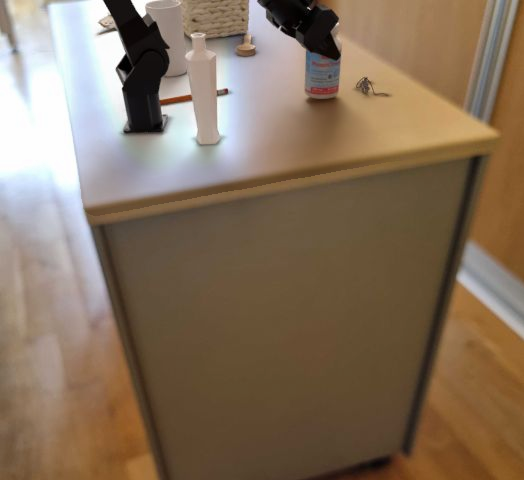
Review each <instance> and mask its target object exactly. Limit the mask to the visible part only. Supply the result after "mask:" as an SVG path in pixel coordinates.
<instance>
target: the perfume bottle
mask: <svg viewBox="0 0 524 480" xmlns="http://www.w3.org/2000/svg"><path fill="white" fill-rule="evenodd" d="M205 35H206V34H203V33H195V34H191V35H190V36H191V37H192V39H191V45H192V49H191V50H190V51H189V52H186V55H185V62H186V67H187V71H186V73H187V79H188V84H189V88H190V94H191V95H192V105H193V106H192V107H193V112H194V118H195V122H196V123H195V124H196V130H197V132H196V141H197V143H198V144H199V145H216V144H217V143H218V142H219V141H220V140H221V134H220V132H219V128H218V95H217V90H218V83H217V82H218V81H217V80H218V79H217V53H215V52H213V51H211V50H209V49H207V46H206V39H205Z"/></svg>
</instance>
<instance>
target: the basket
mask: <svg viewBox="0 0 524 480" xmlns="http://www.w3.org/2000/svg"><path fill="white" fill-rule="evenodd" d="M177 1H180V2H181V10H182V20H183V30H184V35H186V36H187V37H188V38H189V39H191V40H192V37H191V36H190V35H191V34H195V33H203V34H206V35H205V40H206V39H210V38H211V39H214V38H219V37H221V38H225V37H228V36H236V35H241V34H247V32H248V31H249V20H250V16H249V15H250V0H177Z"/></svg>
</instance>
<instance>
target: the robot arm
mask: <svg viewBox="0 0 524 480" xmlns="http://www.w3.org/2000/svg"><path fill="white" fill-rule="evenodd" d="M314 1H315V0H256V3H258V4H259V6H261V7H262V8H263V9H264V10H265V19H266V20H267V21H268V22H269V23H270V24H271V25H272V26H273V27H275V28H276V29H277V30H279V31H280V32H281V33H283V34H284V35H286V36H288V37H290V38H292V39H294V40H296V41H297V43H299V45H300V46H301V47H302V48H303V49H305V51H306V50H308V51H309V52H310V53H312V52H314V53H317V54H320V55H322V56H325V57H328V58H330V59H333V60H335V61H337V60H338V59H339V58H340V57H341V58H342V53H341V54H340V52H339V50H338V48H337V45H336V43H335V41H334V39H333V36H332V34H331V30H332V29H333V28H334V27H335V25H336V24H337V23H339V21H340V17H339V16H338V15H337V14H336V12H335V11H334V10H333V9H332V8H331V7H328V6H327V5H325V4H323V3H322V4H315V5H314V6H313V7H312V8H310V6H311V5H312V4H313V2H314ZM102 2H103V4H104V5H105V7H106V9H107V10H108V13H110V14H111V16H112V18H113V20H114V23H115V26H116V28H115V29H116V31H117V35H118V37H119V39H120V43H121V45H122V48H123V50H124V55H123V56H122V58H121V60H120V61H119V62H118V63H117V65H116V66H115V72H116V74H117V77H118V78H119V81H120V83H121V85H122V86H121V93H122V97H123V103H124V108H125V113H126V117H127V120H126V123H125V125H124V126H123V129H122V131H123V133H124V134H141V133H142V134H143V133H144V134H145V133H147V134H149V133H163V132H164V130H165V127H166V124H167V121H168V120H169V119H168V118H169V116H168V114H165V113H164V114H163V112H162V105H160V100H161V99H160V87H161V82H162V78H163V77H165V76H164V75H165V74H166V72H167V71H168V67H169V64H170V59H169V56H168V53H167V51H166V49H170V47H169V45H168V44H167V43H166V42H165V40H164V39H163V38H162V36H161V34H160V30H159V28H158V25H157V22H156V21H155V20H154V18H153V17H152V16H151V15H150V13H147V14H146V13H145V14H144V15H143V17H142V16H141V14H140V13H139V12H138V10H137V8H136V7H135V5H134V3H133V1H132V0H102Z"/></svg>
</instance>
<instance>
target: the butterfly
mask: <svg viewBox="0 0 524 480" xmlns="http://www.w3.org/2000/svg"><path fill="white" fill-rule="evenodd" d="M97 24H99V25H100V26H101V27H103V28H105V29H113V28H114V29H116V26H115V23H114V20H113V18H112V16H111V14H110V12H107V16H104V17H102V18H101V19H99V20H98V22H97Z"/></svg>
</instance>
